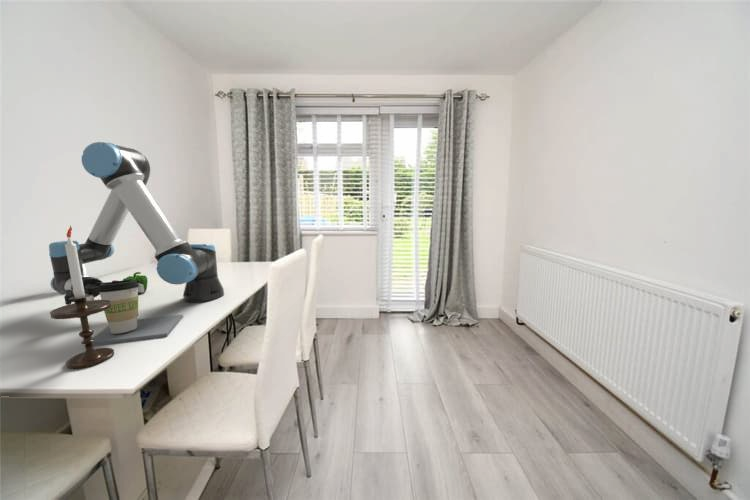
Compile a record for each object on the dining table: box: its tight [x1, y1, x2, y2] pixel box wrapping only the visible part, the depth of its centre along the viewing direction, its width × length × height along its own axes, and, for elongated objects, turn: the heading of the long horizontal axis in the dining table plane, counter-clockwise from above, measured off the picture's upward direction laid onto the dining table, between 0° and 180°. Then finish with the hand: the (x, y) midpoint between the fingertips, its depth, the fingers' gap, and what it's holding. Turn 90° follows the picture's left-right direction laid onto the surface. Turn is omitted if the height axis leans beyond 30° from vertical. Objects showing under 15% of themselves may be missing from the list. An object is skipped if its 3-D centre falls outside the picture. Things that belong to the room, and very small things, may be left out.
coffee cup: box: [97, 279, 139, 334], centre depth 91 cm, size 10×10×15 cm
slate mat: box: [92, 314, 184, 347], centre depth 94 cm, size 20×16×1 cm
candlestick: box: [49, 225, 115, 370], centre depth 74 cm, size 11×11×35 cm
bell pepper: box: [122, 271, 148, 295], centre depth 131 cm, size 8×8×10 cm
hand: (119, 294), depth 95 cm, fingers open, 13 cm apart
